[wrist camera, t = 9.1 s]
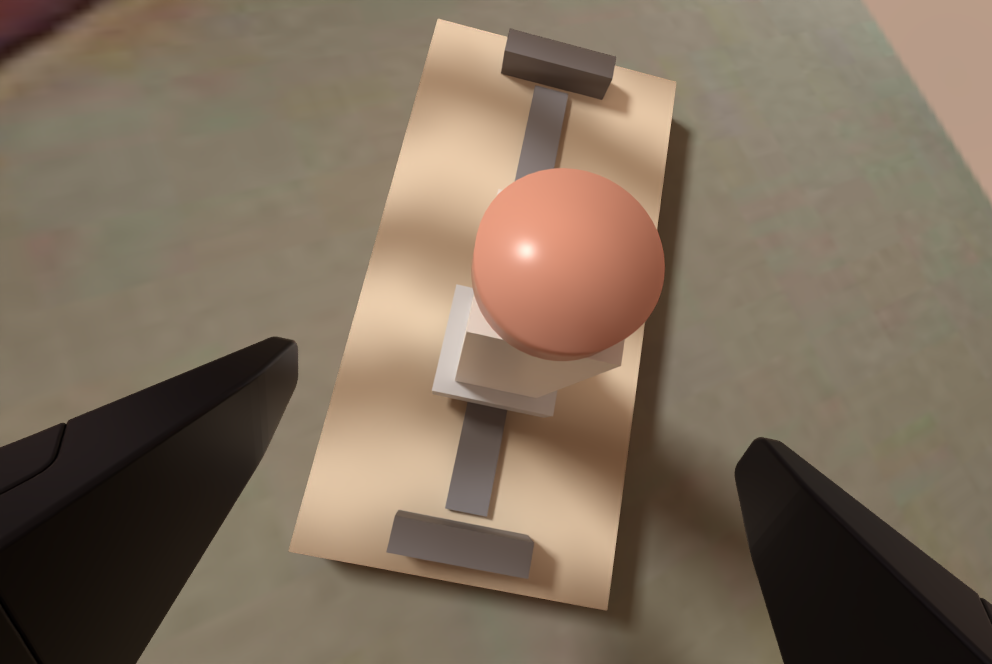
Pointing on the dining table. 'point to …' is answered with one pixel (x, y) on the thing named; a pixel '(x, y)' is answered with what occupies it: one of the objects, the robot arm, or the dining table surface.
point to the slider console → (423, 320)
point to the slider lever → (550, 291)
